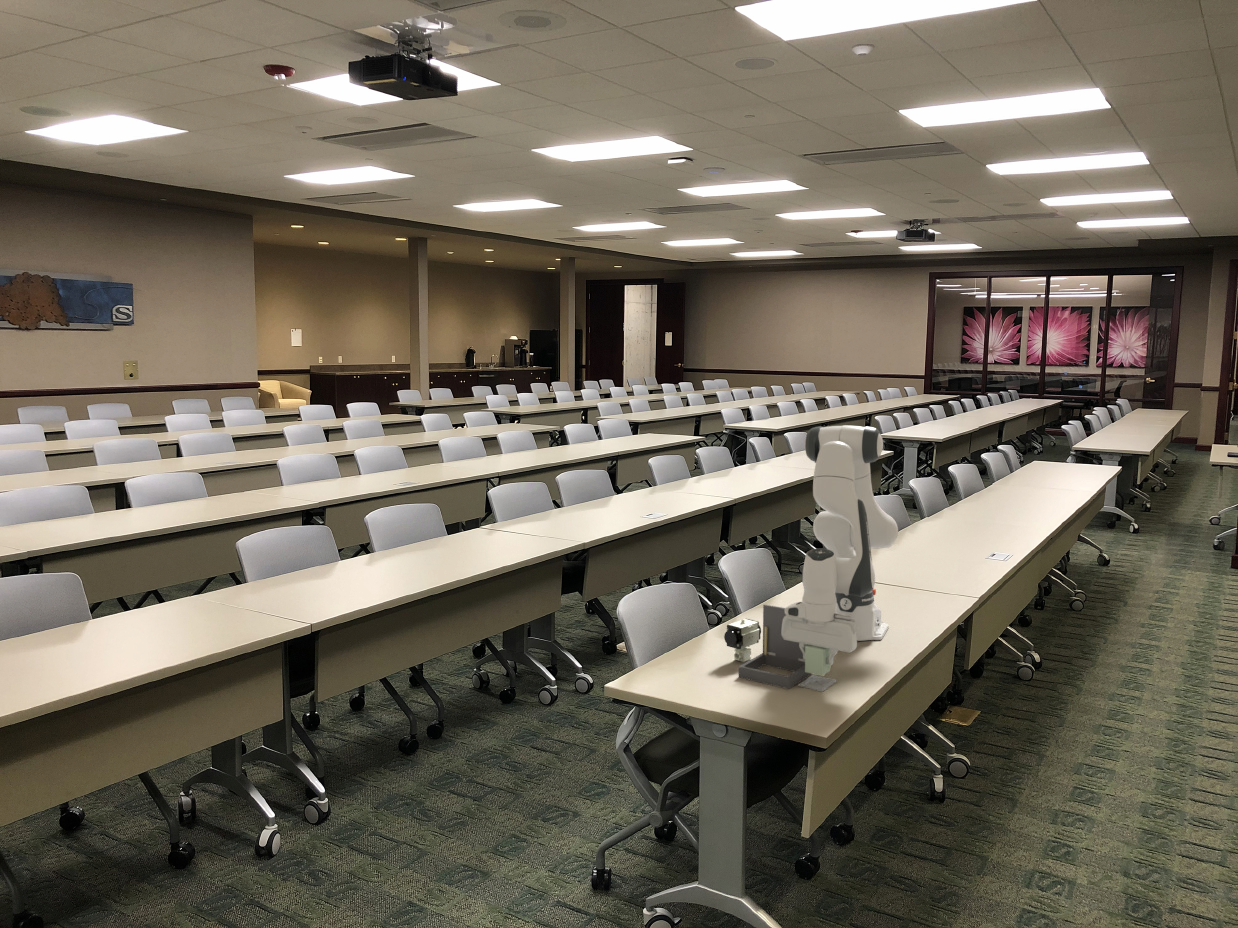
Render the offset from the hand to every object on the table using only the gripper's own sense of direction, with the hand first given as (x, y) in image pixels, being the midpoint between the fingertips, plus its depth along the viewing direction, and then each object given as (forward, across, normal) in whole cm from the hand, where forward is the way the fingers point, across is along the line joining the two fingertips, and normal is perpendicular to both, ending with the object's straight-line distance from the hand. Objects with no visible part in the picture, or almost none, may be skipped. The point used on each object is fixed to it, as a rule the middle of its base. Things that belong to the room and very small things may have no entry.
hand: (818, 661), depth 238 cm
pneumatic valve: (+6, +25, -5) cm, 26 cm away
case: (+6, +12, +1) cm, 13 cm away
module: (+3, 0, 0) cm, 3 cm away
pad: (+6, 0, 0) cm, 6 cm away
